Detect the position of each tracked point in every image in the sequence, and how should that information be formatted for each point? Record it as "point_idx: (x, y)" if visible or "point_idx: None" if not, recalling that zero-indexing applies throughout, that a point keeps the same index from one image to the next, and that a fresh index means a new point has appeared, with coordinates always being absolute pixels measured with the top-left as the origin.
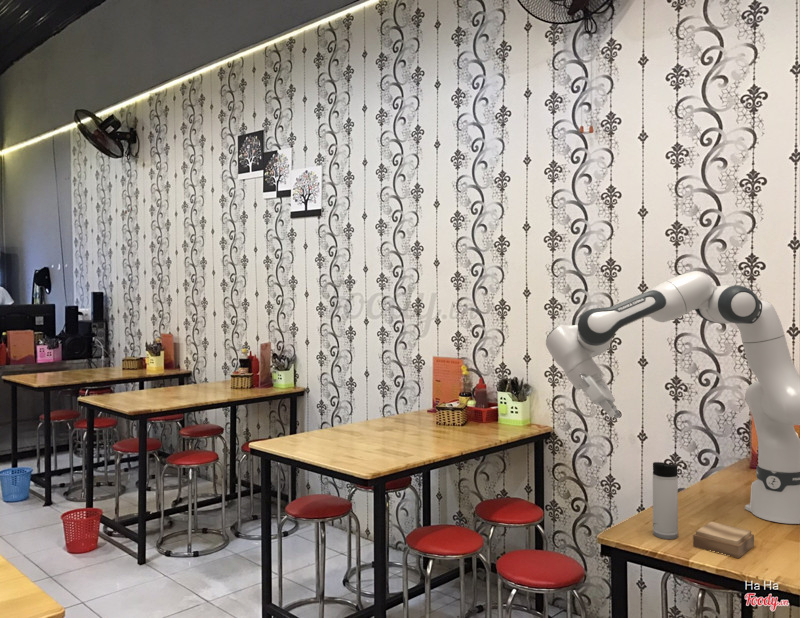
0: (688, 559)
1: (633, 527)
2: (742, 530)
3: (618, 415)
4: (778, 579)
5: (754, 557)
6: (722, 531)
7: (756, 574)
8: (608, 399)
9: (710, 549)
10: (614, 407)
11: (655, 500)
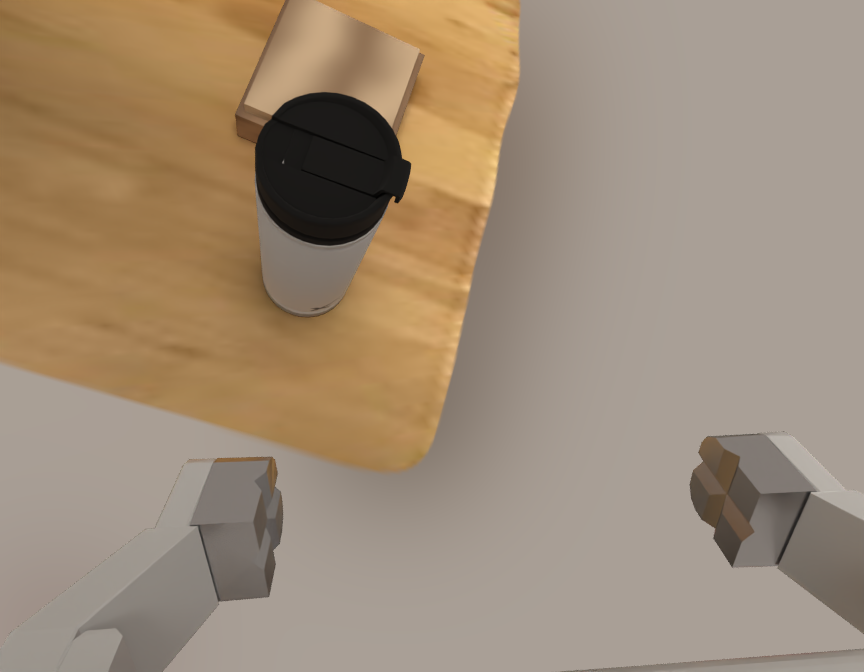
0: (485, 207)
1: (267, 392)
2: (301, 15)
3: (274, 480)
4: (510, 9)
5: None
6: (342, 78)
7: (504, 52)
8: (752, 663)
9: None
10: (132, 602)
11: (351, 271)
